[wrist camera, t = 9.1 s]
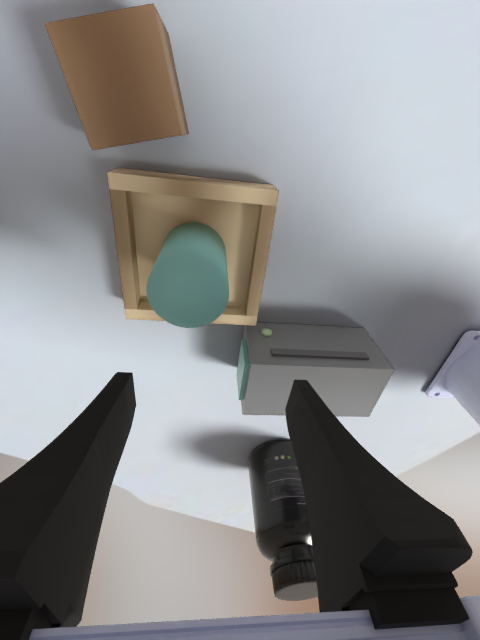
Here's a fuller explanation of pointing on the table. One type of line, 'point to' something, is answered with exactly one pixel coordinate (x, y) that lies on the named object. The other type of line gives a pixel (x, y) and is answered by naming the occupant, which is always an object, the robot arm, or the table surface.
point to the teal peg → (190, 277)
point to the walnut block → (120, 75)
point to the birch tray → (191, 206)
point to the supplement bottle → (282, 520)
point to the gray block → (310, 367)
